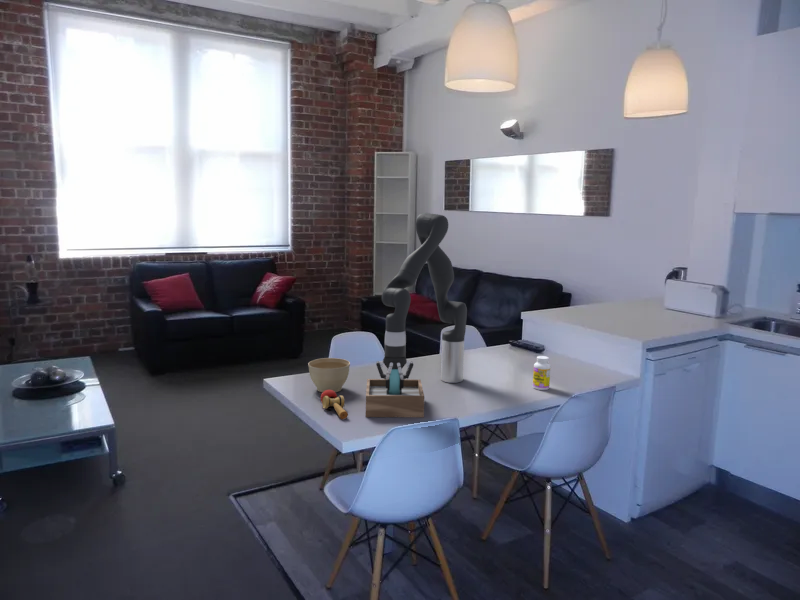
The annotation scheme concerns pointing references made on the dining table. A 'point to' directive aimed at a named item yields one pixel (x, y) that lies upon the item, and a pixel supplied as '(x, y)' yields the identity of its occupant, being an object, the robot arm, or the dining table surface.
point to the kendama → (334, 402)
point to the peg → (394, 382)
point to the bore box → (394, 399)
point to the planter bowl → (329, 373)
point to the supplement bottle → (541, 373)
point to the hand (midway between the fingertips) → (394, 389)
